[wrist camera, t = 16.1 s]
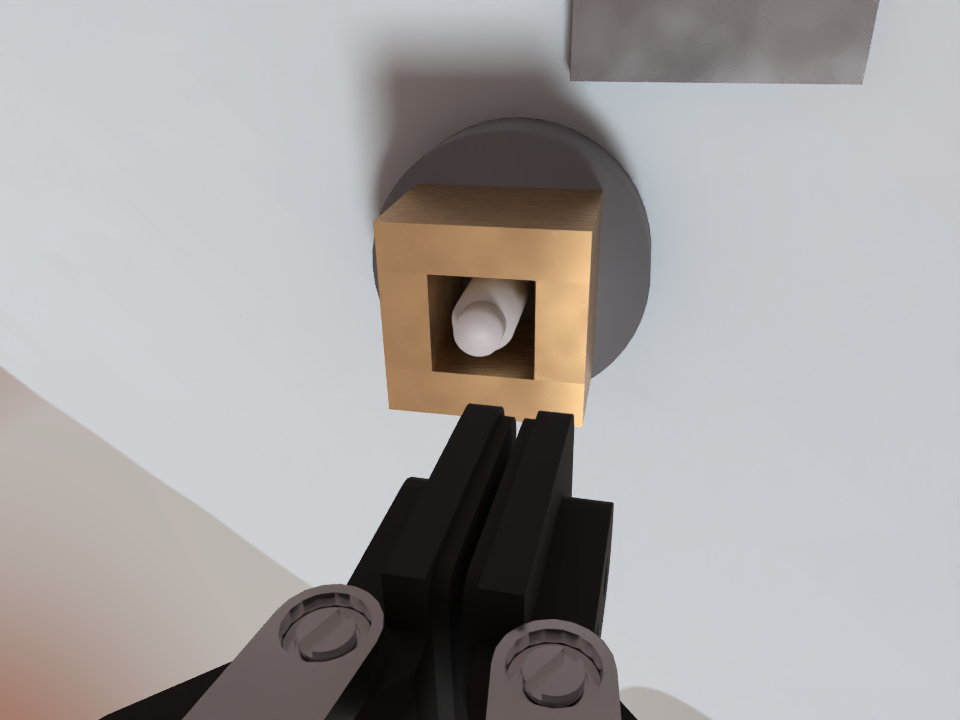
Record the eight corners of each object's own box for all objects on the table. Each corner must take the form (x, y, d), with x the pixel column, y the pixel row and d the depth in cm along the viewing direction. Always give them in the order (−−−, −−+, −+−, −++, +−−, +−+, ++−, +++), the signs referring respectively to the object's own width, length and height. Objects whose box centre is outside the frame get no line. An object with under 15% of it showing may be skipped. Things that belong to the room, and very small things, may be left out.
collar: (603, 189, 27) (592, 231, 23) (593, 362, 31) (582, 427, 26) (416, 183, 29) (373, 221, 24) (426, 349, 32) (389, 408, 28)
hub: (663, 120, 29) (664, 173, 21) (639, 376, 34) (634, 489, 26) (386, 114, 31) (300, 160, 23) (403, 356, 36) (336, 456, 28)
